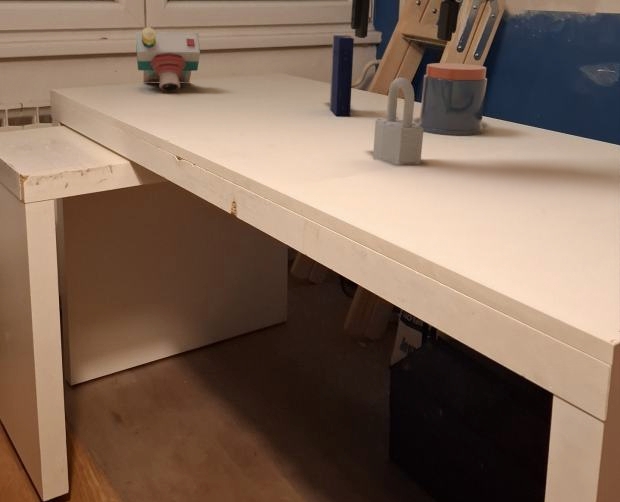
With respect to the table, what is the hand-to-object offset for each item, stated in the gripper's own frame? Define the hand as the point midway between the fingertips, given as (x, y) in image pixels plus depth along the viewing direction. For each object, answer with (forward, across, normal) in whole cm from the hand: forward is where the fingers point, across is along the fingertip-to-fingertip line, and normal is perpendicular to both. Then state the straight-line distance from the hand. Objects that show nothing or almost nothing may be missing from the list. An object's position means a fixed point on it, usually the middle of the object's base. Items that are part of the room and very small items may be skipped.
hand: (402, 38), depth 84 cm
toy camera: (+15, -26, +67) cm, 73 cm away
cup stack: (+14, +16, +24) cm, 32 cm away
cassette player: (+14, +2, +39) cm, 42 cm away
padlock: (+14, +1, 0) cm, 14 cm away
